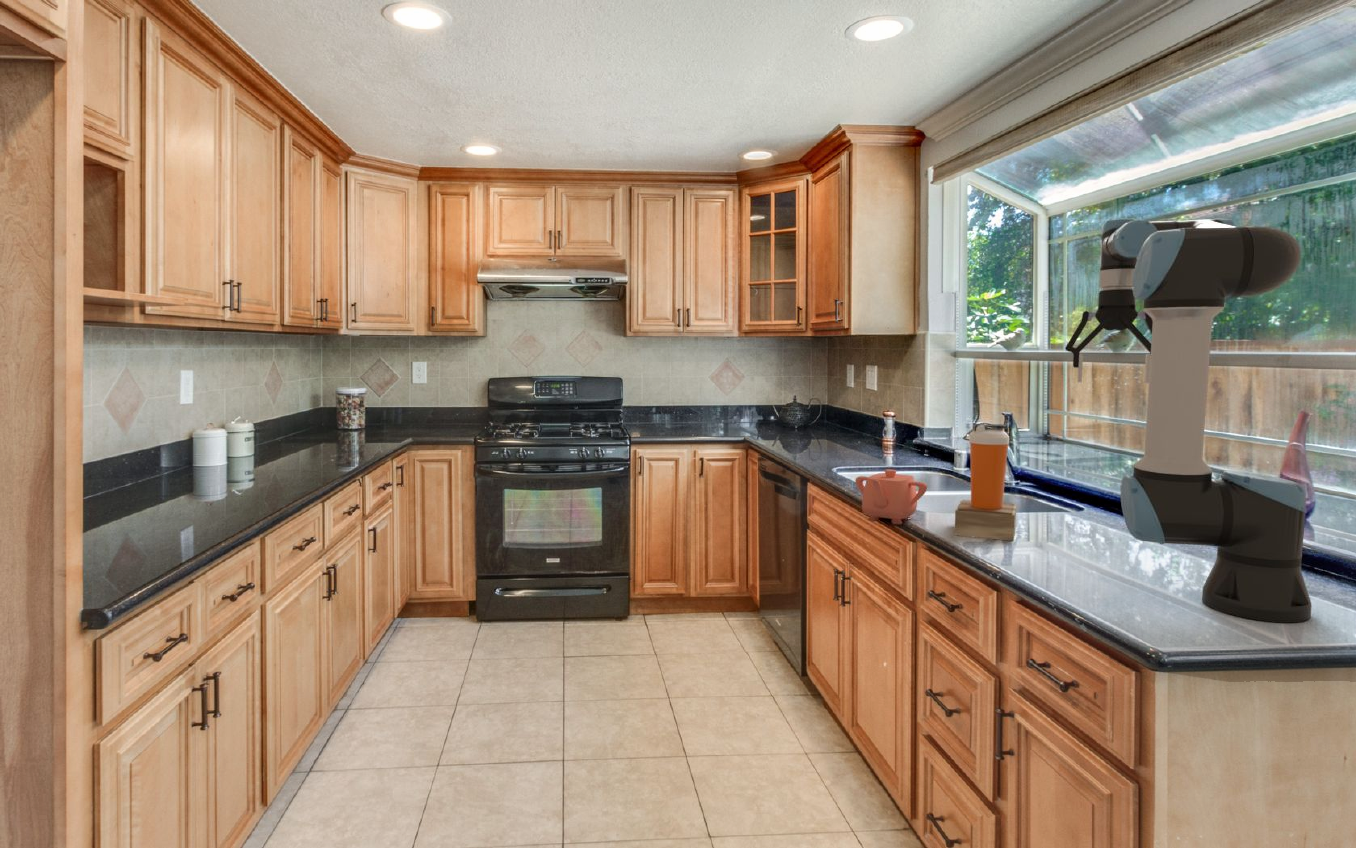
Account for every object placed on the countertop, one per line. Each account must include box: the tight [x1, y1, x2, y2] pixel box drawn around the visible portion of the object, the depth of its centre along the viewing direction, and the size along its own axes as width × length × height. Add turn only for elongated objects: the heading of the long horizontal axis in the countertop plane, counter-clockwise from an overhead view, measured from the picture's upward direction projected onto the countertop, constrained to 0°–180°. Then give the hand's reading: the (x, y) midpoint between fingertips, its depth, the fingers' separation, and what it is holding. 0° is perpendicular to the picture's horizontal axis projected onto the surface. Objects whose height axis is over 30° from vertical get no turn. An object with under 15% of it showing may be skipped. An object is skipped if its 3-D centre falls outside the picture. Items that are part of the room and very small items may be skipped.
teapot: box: [855, 468, 928, 525], centre depth 204 cm, size 17×16×13 cm
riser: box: [954, 499, 1017, 542], centre depth 190 cm, size 13×13×6 cm
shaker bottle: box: [968, 423, 1010, 510], centre depth 188 cm, size 9×9×20 cm
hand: (1112, 382), depth 180 cm, fingers open, 13 cm apart
